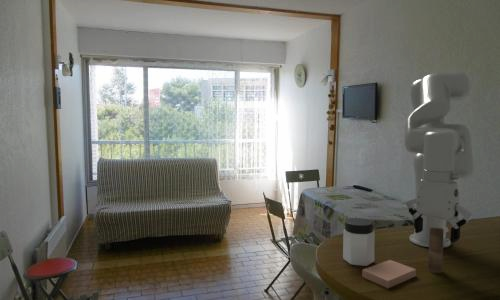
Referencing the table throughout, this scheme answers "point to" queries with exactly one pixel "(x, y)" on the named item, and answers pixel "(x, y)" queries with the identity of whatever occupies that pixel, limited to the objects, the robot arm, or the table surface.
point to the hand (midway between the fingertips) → (435, 236)
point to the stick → (435, 249)
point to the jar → (358, 241)
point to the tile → (388, 273)
